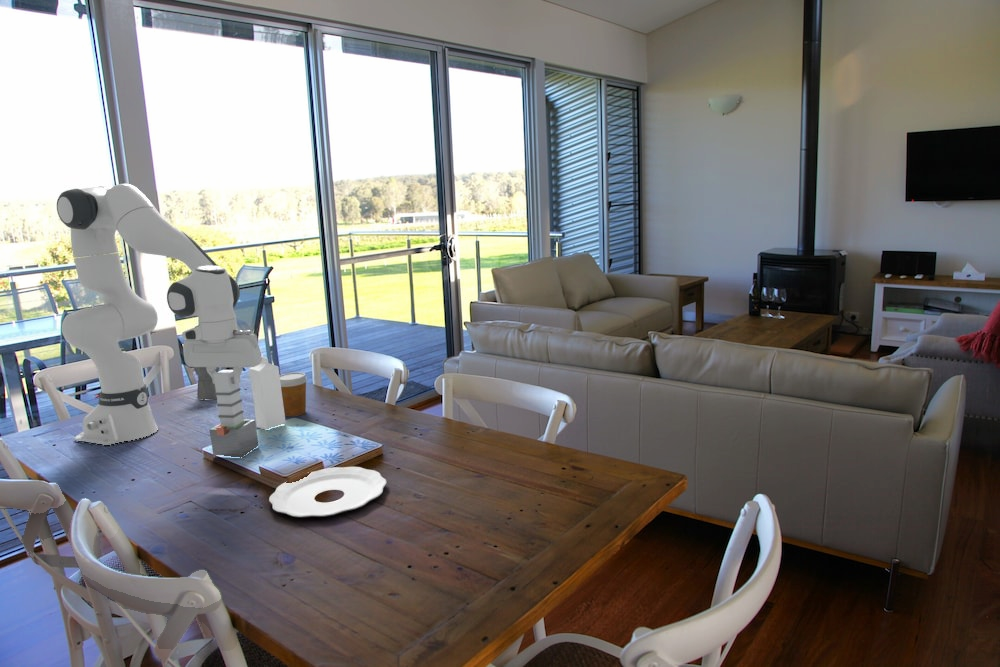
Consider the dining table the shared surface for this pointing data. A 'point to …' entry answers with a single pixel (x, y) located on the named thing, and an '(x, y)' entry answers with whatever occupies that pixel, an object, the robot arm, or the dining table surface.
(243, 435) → the stand
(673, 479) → the dining table surface
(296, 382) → the disposable coffee cup
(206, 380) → the coffeepot
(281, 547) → the dining table surface
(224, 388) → the column
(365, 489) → the plate
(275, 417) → the milk
